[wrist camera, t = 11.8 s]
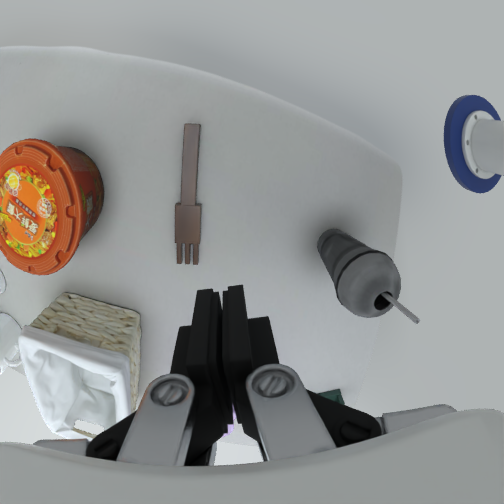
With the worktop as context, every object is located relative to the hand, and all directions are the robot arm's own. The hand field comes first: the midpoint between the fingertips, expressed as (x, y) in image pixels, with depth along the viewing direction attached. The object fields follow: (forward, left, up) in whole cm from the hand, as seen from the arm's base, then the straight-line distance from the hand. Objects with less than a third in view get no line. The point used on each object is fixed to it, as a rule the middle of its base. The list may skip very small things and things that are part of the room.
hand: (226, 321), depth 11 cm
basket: (+25, +23, -27) cm, 44 cm away
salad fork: (+5, 0, -27) cm, 28 cm away
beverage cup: (-14, +9, -27) cm, 32 cm away
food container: (+22, -4, -27) cm, 36 cm away
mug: (+46, +19, -27) cm, 57 cm away
